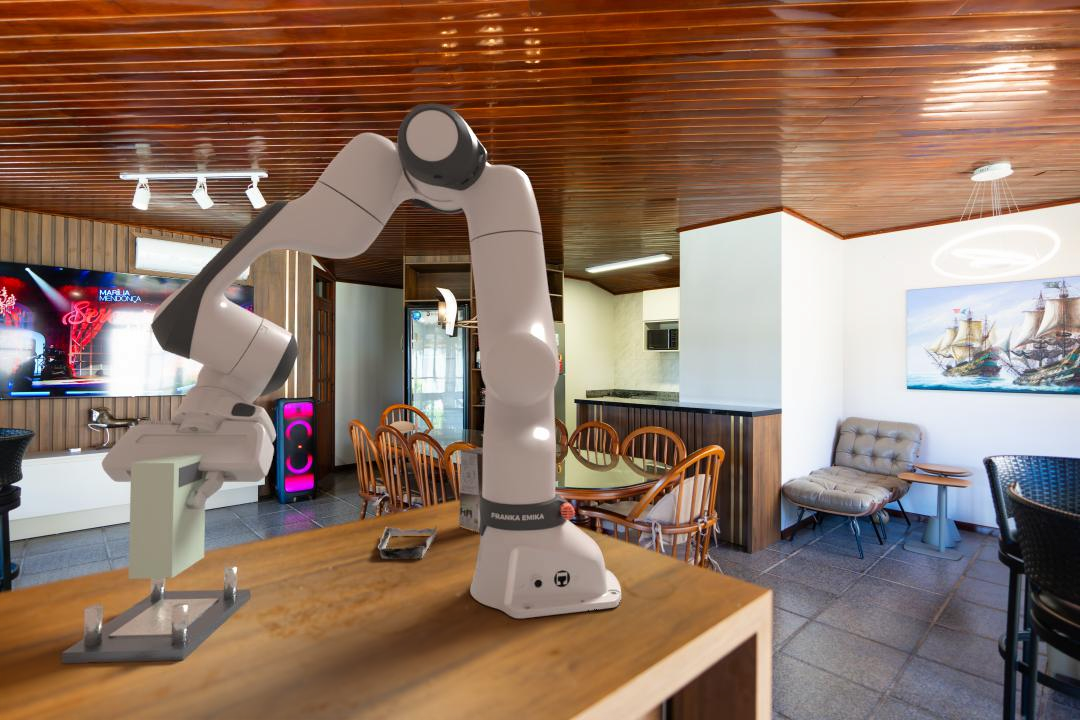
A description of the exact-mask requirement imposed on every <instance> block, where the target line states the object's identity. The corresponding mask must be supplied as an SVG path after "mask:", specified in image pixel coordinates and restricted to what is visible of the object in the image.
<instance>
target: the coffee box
mask: <svg viewBox="0 0 1080 720" xmlns="http://www.w3.org/2000/svg"><path fill="white" fill-rule="evenodd" d="M459 468H460V471H459V476H460V478H459V507H458V509H459V512H458V513H459V515H458V516H459V518H458V526H459V525H460V526H463V527H466V528H469V529H473V530H478V531H479V529H478V505H479V500H480V495H481V494H482V483H483V447H477V448H469V449H461V450H460V467H459Z"/></svg>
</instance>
